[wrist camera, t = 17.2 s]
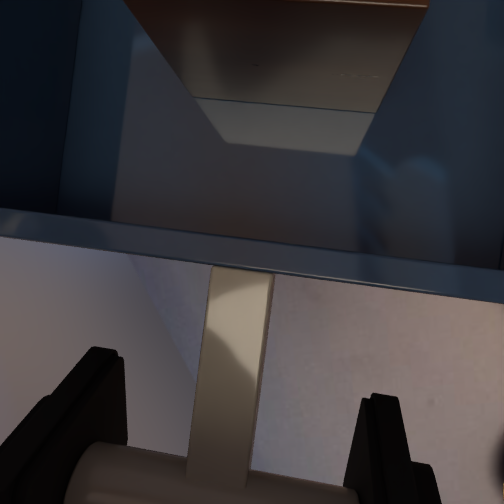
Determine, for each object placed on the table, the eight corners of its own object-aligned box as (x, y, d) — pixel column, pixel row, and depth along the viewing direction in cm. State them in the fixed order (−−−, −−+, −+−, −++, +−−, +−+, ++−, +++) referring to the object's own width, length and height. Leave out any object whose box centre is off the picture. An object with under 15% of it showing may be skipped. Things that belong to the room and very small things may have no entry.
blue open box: (26, 423, 14) (-129, 518, 9) (103, -198, 13) (-12, -455, 9) (477, 508, 12) (594, 681, 7) (571, -196, 12) (756, -510, 7)
